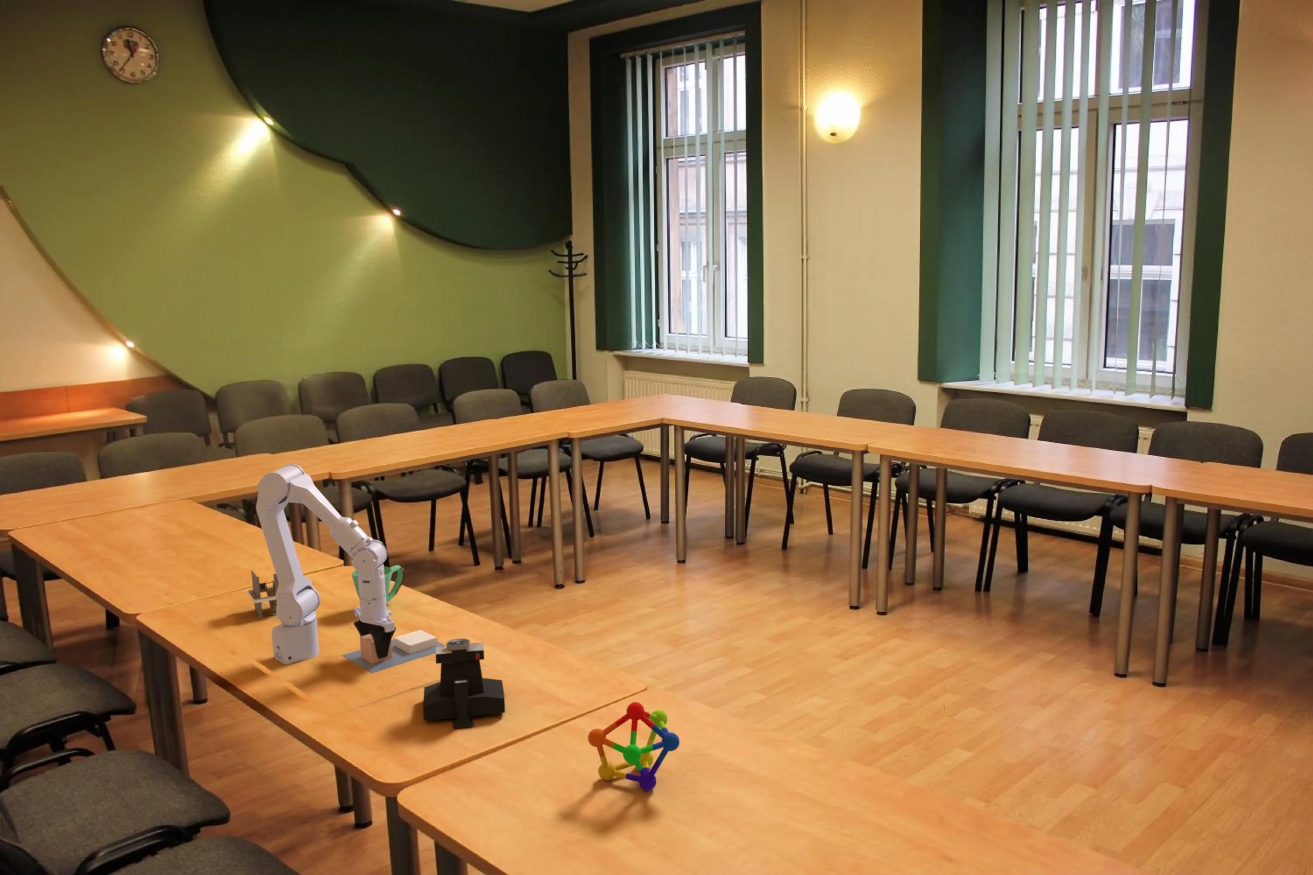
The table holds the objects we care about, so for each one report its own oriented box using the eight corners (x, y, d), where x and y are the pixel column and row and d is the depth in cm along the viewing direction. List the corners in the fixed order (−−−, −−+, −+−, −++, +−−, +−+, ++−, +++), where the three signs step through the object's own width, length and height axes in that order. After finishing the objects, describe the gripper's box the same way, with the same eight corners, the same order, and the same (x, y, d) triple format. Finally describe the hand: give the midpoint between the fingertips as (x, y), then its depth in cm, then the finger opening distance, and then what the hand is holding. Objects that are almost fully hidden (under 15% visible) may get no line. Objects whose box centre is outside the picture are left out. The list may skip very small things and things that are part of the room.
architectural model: (227, 609, 282) (223, 567, 280) (293, 597, 290) (290, 557, 288) (240, 630, 266) (236, 587, 264) (310, 617, 274) (307, 575, 272)
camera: (499, 630, 226) (503, 650, 211) (502, 697, 227) (506, 722, 213) (421, 637, 223) (419, 658, 208) (425, 705, 224) (423, 731, 210)
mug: (371, 618, 272) (369, 580, 270) (346, 610, 278) (343, 573, 276) (416, 601, 284) (414, 565, 282) (391, 594, 289) (389, 558, 287)
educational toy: (638, 815, 181) (630, 734, 177) (588, 788, 190) (578, 711, 186) (702, 774, 191) (695, 696, 187) (651, 750, 200) (644, 676, 196)
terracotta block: (372, 663, 241) (370, 642, 240) (361, 657, 245) (359, 636, 244) (392, 657, 245) (391, 636, 244) (381, 651, 248) (379, 630, 247)
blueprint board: (372, 676, 237) (371, 664, 236) (341, 658, 247) (340, 646, 246) (451, 651, 250) (450, 639, 249) (419, 635, 260) (418, 624, 259)
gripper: (405, 599, 239) (409, 657, 242) (372, 584, 250) (376, 640, 253) (376, 607, 235) (380, 666, 237) (344, 591, 245) (348, 648, 248)
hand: (376, 653), depth 245 cm, fingers closed on terracotta block, 5 cm apart
